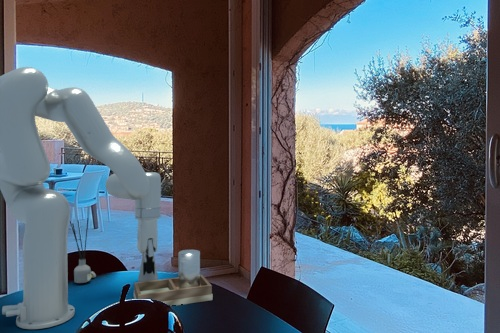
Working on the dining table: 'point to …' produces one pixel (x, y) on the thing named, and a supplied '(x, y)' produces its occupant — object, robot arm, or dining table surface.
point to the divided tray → (173, 291)
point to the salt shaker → (147, 276)
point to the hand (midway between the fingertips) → (148, 272)
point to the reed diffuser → (82, 263)
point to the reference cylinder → (188, 268)
